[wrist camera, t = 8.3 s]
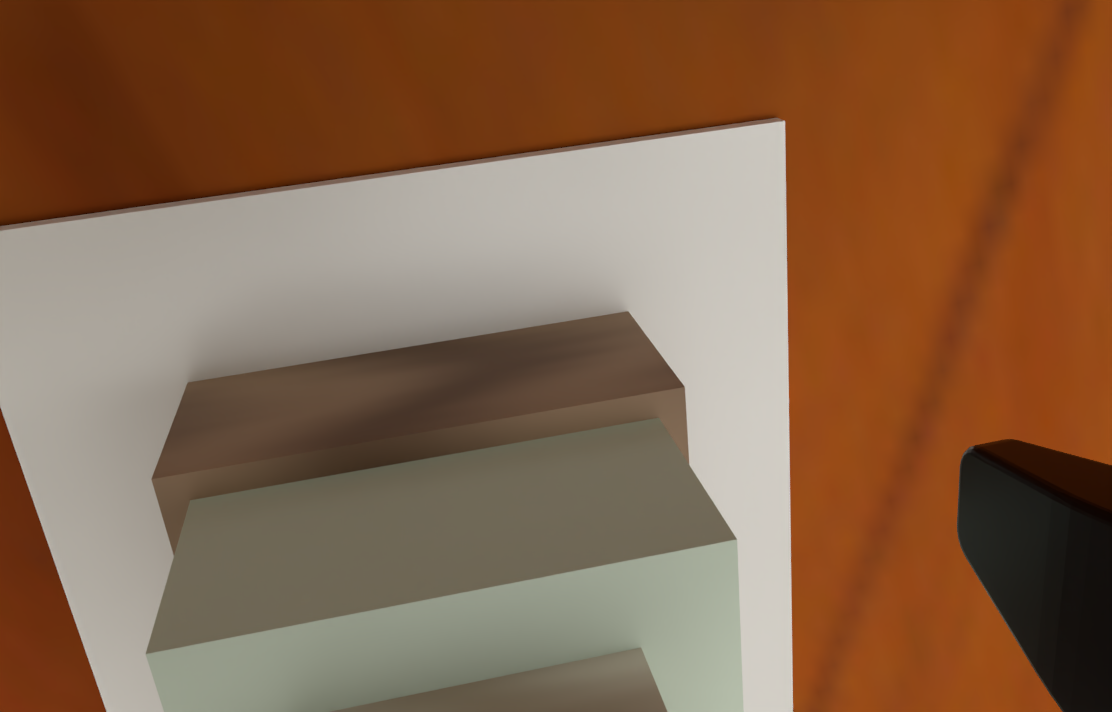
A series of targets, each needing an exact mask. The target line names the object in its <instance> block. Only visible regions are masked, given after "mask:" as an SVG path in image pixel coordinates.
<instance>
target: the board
mask: <svg viewBox="0 0 1112 712" xmlns="http://www.w3.org/2000/svg"><path fill="white" fill-rule="evenodd" d="M627 311H629V313H630V314H631V315H632V317H633V318H634V319H635V321H636V322H637V323H638V325H639V326H640V327H641V329H642V330H643V332H644V333H645V334H646V336H647V337H648V338H649V340H650V341H651V342H652V344H653V345H654V346H655V348H656V349H657V350H658V352H659V353H660V354H661V356H662V357H663V358H664V360H665V361H666V362H667V364H668V365H669V366H670V368H671V369H672V370H673V372H674V373H675V374H676V376H677V377H678V378H679V380H680V381H681V382H682V384H683V385H684V387H685V397H686V415H687V432H688V450H689V465H690V467H691V468H692V470H693V472H694V473H695V475H696V476H697V478H698V479H699V481H700V482H701V484H702V486H703V487H704V489H705V490H706V492H707V493H708V495H709V496H710V498H711V500H712V501H713V503H714V504H715V506H716V507H717V509H718V510H719V512H720V514H721V515H722V517H723V518H724V520H725V521H726V523H727V524H728V526H729V528H730V529H731V531H732V532H733V534H734V535H735V537H736V538H737V549H738V576H739V603H740V629H741V656H742V683H743V709H744V712H793V679H792V604H791V529H790V455H789V380H788V306H787V231H786V156H785V121H784V120H782V119H779V118H772V119H765V120H758V121H750V122H743V123H736V124H729V125H722V126H715V127H707V128H700V129H693V130H686V131H679V132H672V133H664V134H657V135H650V136H643V137H636V138H629V139H621V140H614V141H607V142H600V143H593V144H586V145H578V146H571V147H564V148H557V149H550V150H543V151H535V152H528V153H521V154H514V155H507V156H500V157H492V158H485V159H478V160H471V161H464V162H457V163H449V164H442V165H435V166H428V167H421V168H413V169H406V170H399V171H392V172H385V173H378V174H370V175H363V176H356V177H349V178H342V179H335V180H327V181H320V182H313V183H306V184H299V185H292V186H284V187H277V188H270V189H263V190H256V191H249V192H241V193H234V194H227V195H220V196H213V197H206V198H198V199H191V200H184V201H177V202H170V203H163V204H155V205H148V206H141V207H134V208H127V209H120V210H112V211H105V212H98V213H91V214H84V215H77V216H69V217H62V218H55V219H48V220H41V221H34V222H26V223H19V224H12V225H5V226H0V408H1V410H2V413H3V416H4V419H5V422H6V425H7V428H8V430H9V433H10V436H11V439H12V442H13V445H14V448H15V451H16V453H17V456H18V459H19V462H20V465H21V468H22V471H23V473H24V476H25V479H26V482H27V485H28V488H29V491H30V494H31V496H32V499H33V502H34V505H35V508H36V511H37V514H38V516H39V519H40V522H41V525H42V528H43V531H44V534H45V537H46V539H47V542H48V545H49V548H50V551H51V554H52V557H53V559H54V562H55V565H56V568H57V571H58V574H59V577H60V580H61V582H62V585H63V588H64V591H65V594H66V597H67V600H68V602H69V605H70V608H71V611H72V614H73V617H74V620H75V623H76V625H77V628H78V631H79V634H80V637H81V640H82V643H83V645H84V648H85V651H86V654H87V657H88V660H89V663H90V665H91V668H92V671H93V674H94V677H95V680H96V683H97V686H98V688H99V691H100V694H101V697H102V700H103V703H104V706H105V708H106V711H107V712H164V710H163V707H162V704H161V701H160V698H159V695H158V692H157V688H156V685H155V682H154V679H153V676H152V673H151V670H150V667H149V664H148V660H147V657H146V651H147V647H148V644H149V640H150V637H151V634H152V630H153V627H154V623H155V620H156V616H157V613H158V610H159V606H160V603H161V599H162V596H163V592H164V589H165V585H166V582H167V579H168V575H169V572H170V568H171V565H172V561H173V558H174V555H173V551H172V548H171V545H170V541H169V538H168V534H167V531H166V528H165V524H164V521H163V517H162V514H161V511H160V507H159V504H158V500H157V497H156V494H155V490H154V487H153V483H152V480H151V479H152V476H153V474H154V471H155V468H156V466H157V463H158V460H159V457H160V455H161V452H162V449H163V447H164V444H165V441H166V439H167V436H168V433H169V431H170V428H171V425H172V423H173V420H174V417H175V415H176V412H177V409H178V407H179V404H180V401H181V399H182V396H183V393H184V391H185V388H186V385H187V383H188V382H194V381H200V380H207V379H213V378H219V377H225V376H231V375H237V374H244V373H250V372H256V371H262V370H268V369H275V368H281V367H287V366H293V365H299V364H305V363H312V362H318V361H324V360H330V359H336V358H343V357H349V356H355V355H361V354H367V353H373V352H380V351H386V350H392V349H398V348H404V347H410V346H417V345H423V344H429V343H435V342H441V341H448V340H454V339H460V338H466V337H472V336H478V335H485V334H491V333H497V332H503V331H509V330H516V329H522V328H528V327H534V326H540V325H546V324H553V323H559V322H565V321H571V320H577V319H584V318H590V317H596V316H602V315H608V314H614V313H621V312H627Z"/></svg>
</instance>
